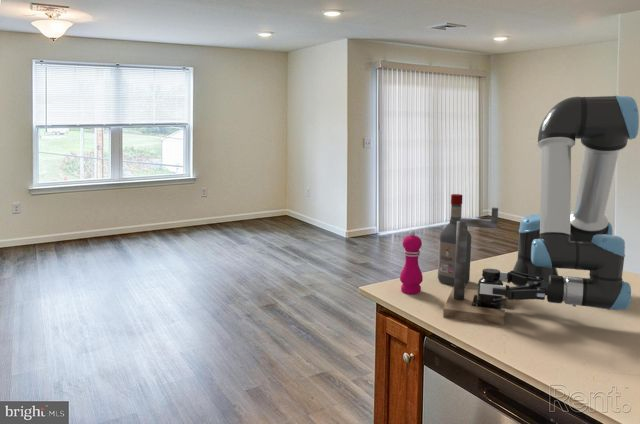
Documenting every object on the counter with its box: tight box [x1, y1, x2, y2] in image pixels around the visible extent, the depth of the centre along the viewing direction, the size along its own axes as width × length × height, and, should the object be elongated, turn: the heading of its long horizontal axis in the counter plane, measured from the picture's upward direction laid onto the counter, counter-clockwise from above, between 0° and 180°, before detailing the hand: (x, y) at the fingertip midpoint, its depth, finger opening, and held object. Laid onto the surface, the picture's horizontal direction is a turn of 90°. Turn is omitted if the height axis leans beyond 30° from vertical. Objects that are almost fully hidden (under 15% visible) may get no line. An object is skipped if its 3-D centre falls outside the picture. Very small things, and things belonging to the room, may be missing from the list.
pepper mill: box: [399, 230, 424, 295], centre depth 161 cm, size 7×7×20 cm
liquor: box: [437, 193, 472, 287], centre depth 170 cm, size 9×9×30 cm
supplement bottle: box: [476, 268, 504, 310], centre depth 144 cm, size 7×7×12 cm
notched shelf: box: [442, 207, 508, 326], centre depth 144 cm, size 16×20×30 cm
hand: (481, 281), depth 144 cm, fingers open, 13 cm apart
